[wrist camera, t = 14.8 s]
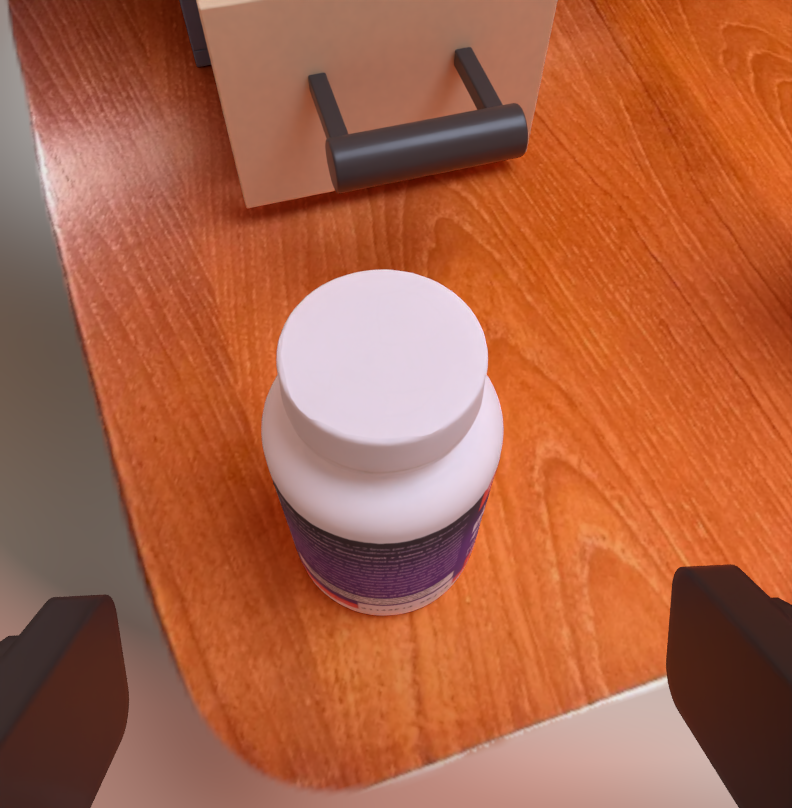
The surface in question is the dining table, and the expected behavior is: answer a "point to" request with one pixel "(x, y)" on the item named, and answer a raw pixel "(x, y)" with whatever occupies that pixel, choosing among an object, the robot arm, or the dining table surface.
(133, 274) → the dining table surface
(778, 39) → the dining table surface
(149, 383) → the dining table surface
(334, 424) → the pill bottle
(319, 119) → the drawer
